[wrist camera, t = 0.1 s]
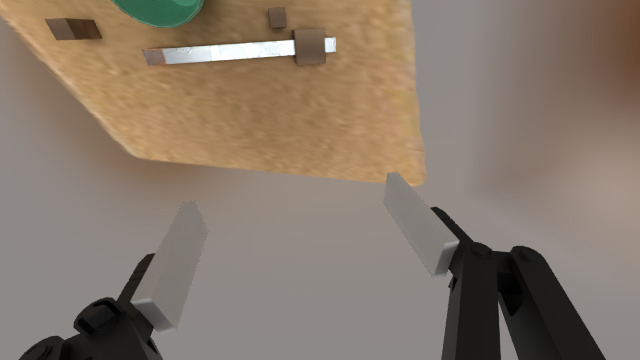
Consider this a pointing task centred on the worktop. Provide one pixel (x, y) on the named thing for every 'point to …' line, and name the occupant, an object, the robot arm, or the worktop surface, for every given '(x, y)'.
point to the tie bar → (225, 51)
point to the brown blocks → (306, 40)
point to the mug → (161, 11)
